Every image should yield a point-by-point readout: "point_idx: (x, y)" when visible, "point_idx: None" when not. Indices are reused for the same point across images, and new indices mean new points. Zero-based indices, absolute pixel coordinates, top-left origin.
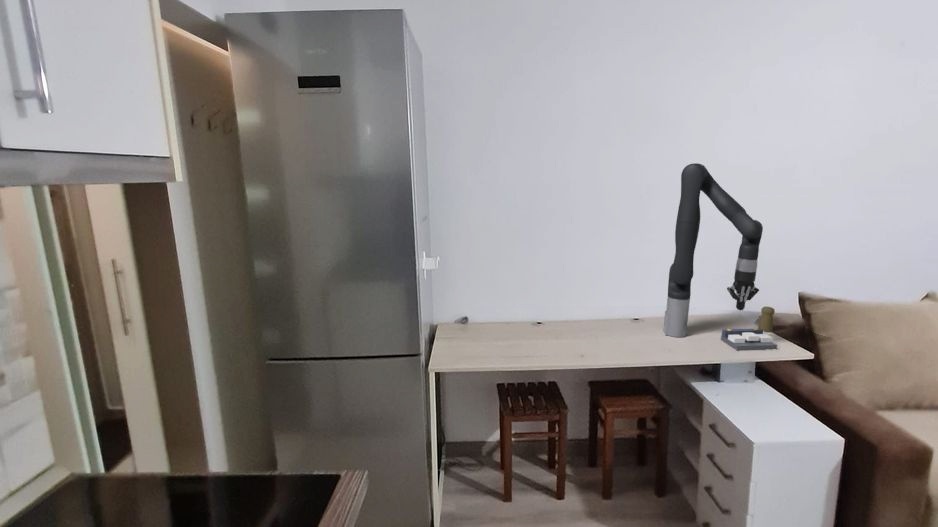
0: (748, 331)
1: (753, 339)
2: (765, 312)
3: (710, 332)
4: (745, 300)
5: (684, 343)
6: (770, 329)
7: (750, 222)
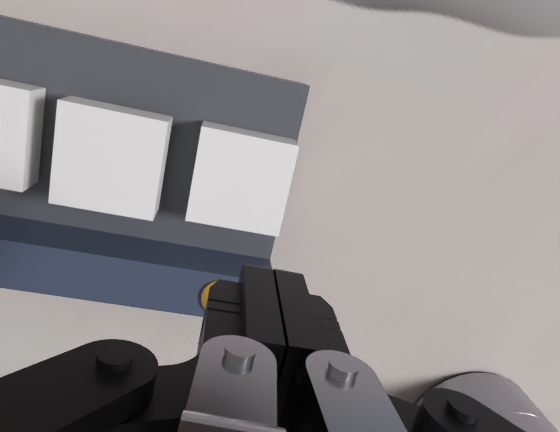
0: (56, 245)
1: (123, 107)
2: None
3: None
4: (236, 349)
5: (541, 284)
6: None
7: None
